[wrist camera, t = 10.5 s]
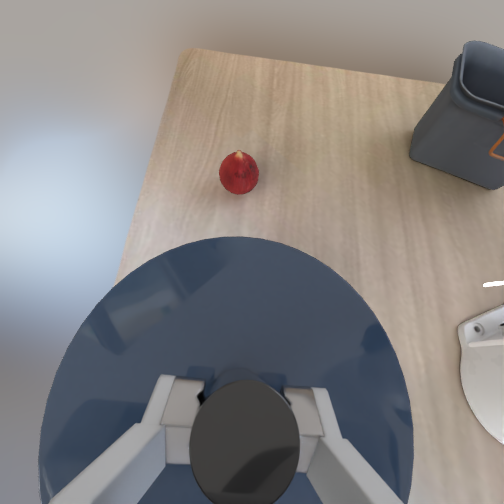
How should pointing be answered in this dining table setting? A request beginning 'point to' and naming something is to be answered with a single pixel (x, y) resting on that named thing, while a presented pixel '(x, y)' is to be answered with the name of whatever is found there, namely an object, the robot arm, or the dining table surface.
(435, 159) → the storage bin
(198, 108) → the dining table surface
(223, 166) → the onion
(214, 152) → the dining table surface
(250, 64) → the dining table surface
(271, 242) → the lid
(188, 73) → the dining table surface
